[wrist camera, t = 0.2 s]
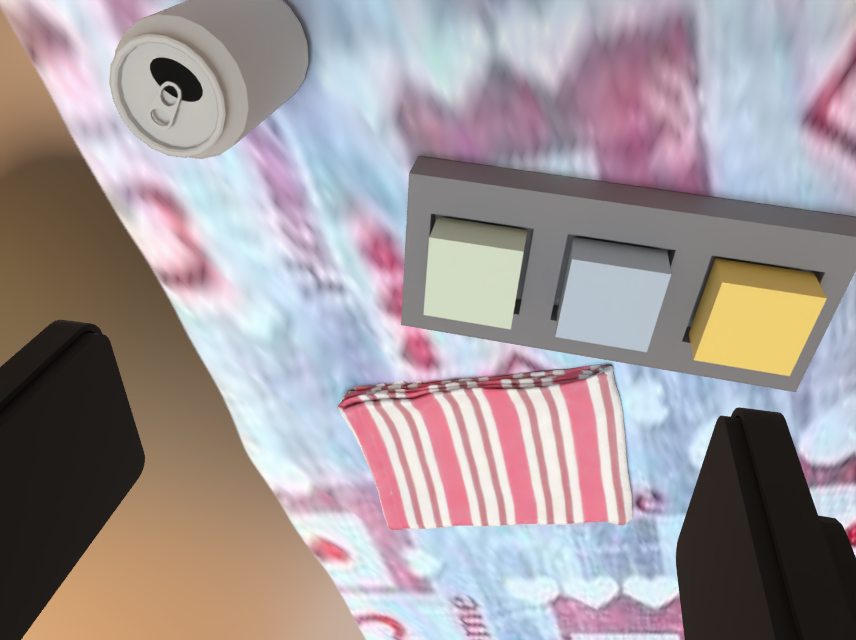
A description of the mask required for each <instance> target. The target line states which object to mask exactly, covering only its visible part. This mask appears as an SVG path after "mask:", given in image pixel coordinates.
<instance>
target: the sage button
mask: <svg viewBox="0 0 856 640" xmlns="http://www.w3.org/2000/svg"><path fill="white" fill-rule="evenodd" d="M526 235H527V230H524V229H518V228H511V227H504V226H498V225H491V224H484V223H478V222H471V221H464V220H457V219H451V218H444V217H438V218H437V220H436V222H435V225H434V227H433V230H432V232H431V234H430V237H429V247H428V261H427V274H426V287H425V301H424V314H423V315H427V316H433V317H439V318H445V319H451V320H457V321H463V322H469V323H475V324H481V325H487V326H493V327H499V328H505V329H511V325H512V319H513V313H514V307H515V301H516V295H517V289H518V283H519V277H520V271H521V265H522V259H523V253H524V247H525V241H526Z"/></svg>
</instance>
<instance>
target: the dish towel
mask: <svg viewBox="0 0 856 640" xmlns="http://www.w3.org/2000/svg"><path fill="white" fill-rule="evenodd" d="M613 369H614V368H613V367H612V366H610V365H596V366H592V365H590V366H585V367H579V368H573V369H567V370H552V371H540V372H530V373H519V374H512V375H507V376H500V377H480V378H468V379H457V380H448V381H439V382H432V383H422V382H421V381H420V380H418V381H416V382H415V384H413V383H410V384H409V383H407V382H405V381H397V382H394V384H386V383H383V384H378V385H376V386H374V387H368V386H358V387H354V389H355V391H349V392H348V395H345V396H343V398H342V402H341V403H340V404H339V406H338V407H337V409H338V410H339V411H340V412H341V414H342V416H343V418H344V419H345V421H346V422H347V424H348V426H349V427H350V429H351V431H352V433H353V434H354V436H355V438H356V440H357V442H358V444H359V446H360V448H361V450H362V453H363V455H364V458H365V460H366V462H367V464H368V466H369V468H370V470H371V473H372V476H373V478H374V481H375V484H376V487H377V490H378V494H379V497H380V502H381V506H382V510H383V513H384V517H385V519H386V522H387V526H388V527H389V528H390V529H392V530H398V529H404V528H409V529H432V528H438V527H451V526H458V525H472V526H501V525H516V524H542V525H547V524H571V523H575V524H576V523H585V522H609V523H613V524H616V525H625V524H626V523H627V522H629V521H630V520H632V518H633V509H632V493H631V488H630V483H629V474H628V466H627V457H626V442H625V431H624V425H623V410H622V404H621V400H620V396H619V393H618V390H617V387H616V384H615V380H614V375H613ZM406 384H408V385H406Z"/></svg>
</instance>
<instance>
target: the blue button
mask: <svg viewBox="0 0 856 640" xmlns="http://www.w3.org/2000/svg"><path fill="white" fill-rule="evenodd" d="M670 277H671V270H670V264H669V258H668V253H667V251H665V250H658V249H651V248H645V247H638V246H631V245H624V244H618V243H611V242H604V241H598V240H591V239H584V238H578V237H573V240H572V245H571V250H570V255H569V259H568V264H567V269H566V274H565V278H564V283H563V288H562V292H561V297H560V302H559V307H558V311H557V323H556V335H555V337H559V338H565V339H571V340H577V341H582V342H588V343H594V344H600V345H606V346H612V347H618V348H624V349H630V350H636V351H642V352H647V350H648V347H649V344H650V341H651V337H652V334H653V331H654V328H655V325H656V322H657V318H658V315H659V312H660V309H661V306H662V303H663V299H664V296H665V293H666V290H667V287H668V284H669V280H670Z"/></svg>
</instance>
